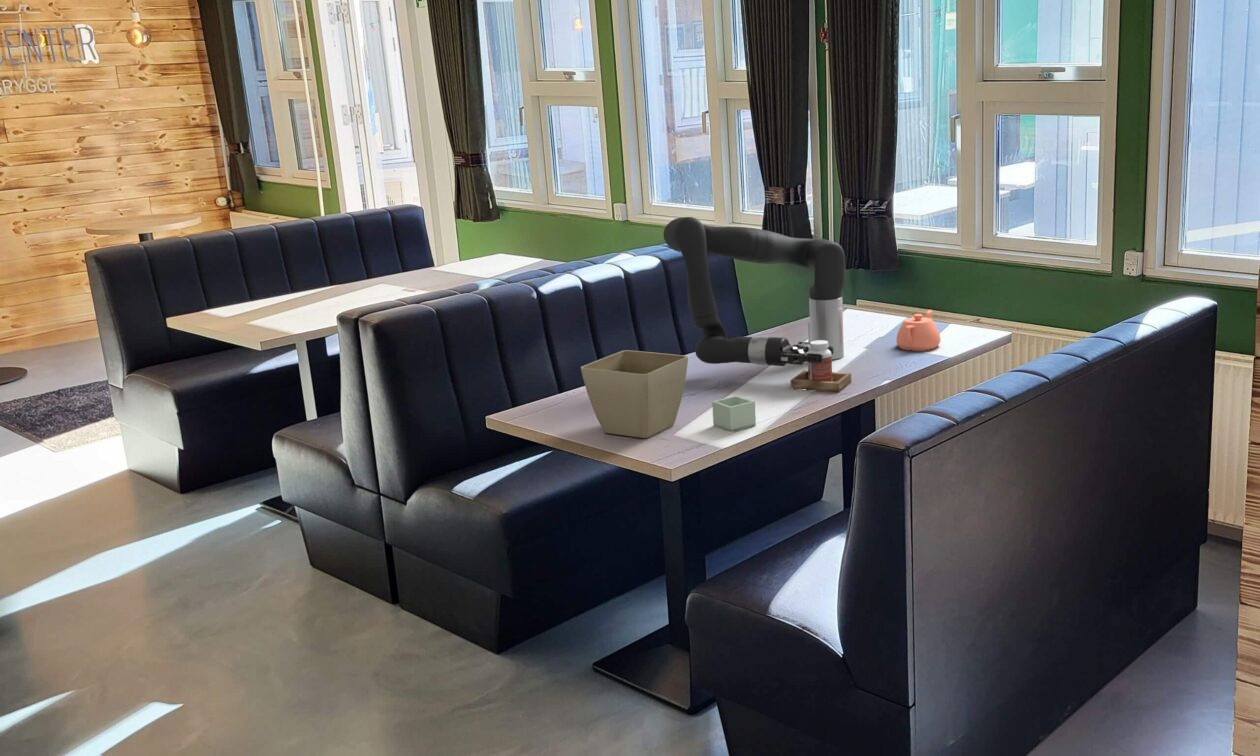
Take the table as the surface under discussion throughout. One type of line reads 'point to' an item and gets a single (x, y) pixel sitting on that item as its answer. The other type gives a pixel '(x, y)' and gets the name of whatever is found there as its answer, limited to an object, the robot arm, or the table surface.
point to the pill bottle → (825, 367)
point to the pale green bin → (734, 413)
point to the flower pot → (636, 391)
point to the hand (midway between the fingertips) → (827, 354)
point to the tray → (821, 382)
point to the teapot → (918, 333)
